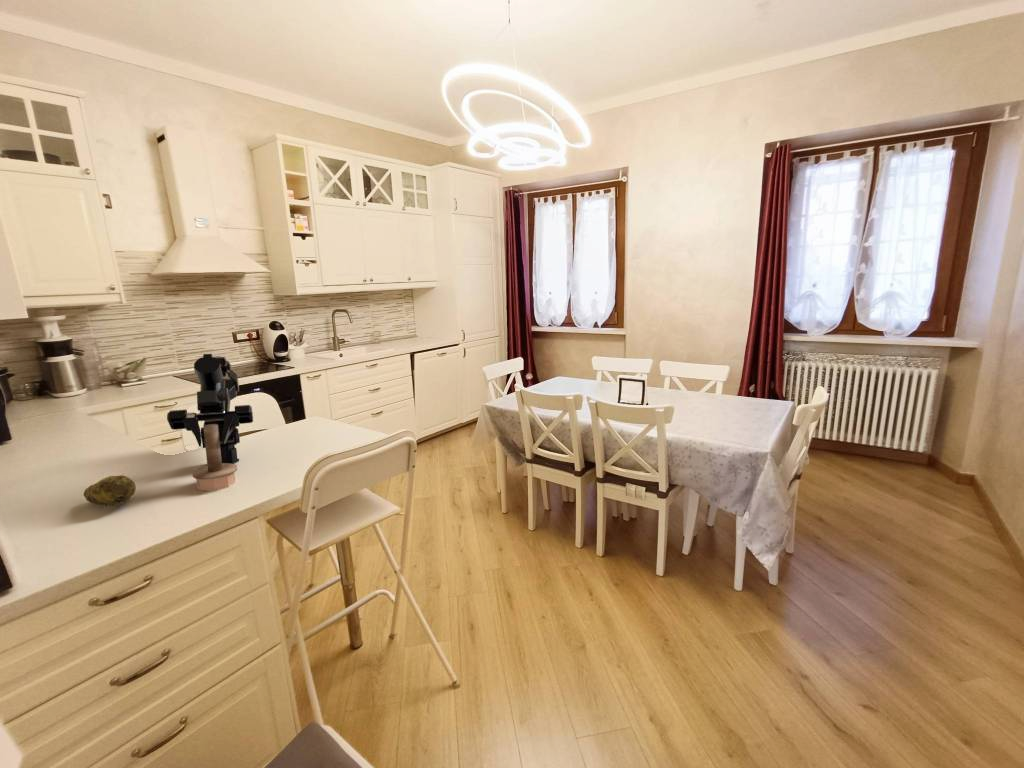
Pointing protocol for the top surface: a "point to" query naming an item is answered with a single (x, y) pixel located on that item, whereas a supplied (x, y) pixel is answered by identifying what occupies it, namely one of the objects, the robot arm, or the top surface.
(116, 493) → the avocado
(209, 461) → the peg on round base
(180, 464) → the top surface
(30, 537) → the top surface
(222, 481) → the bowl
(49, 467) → the top surface
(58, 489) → the top surface
